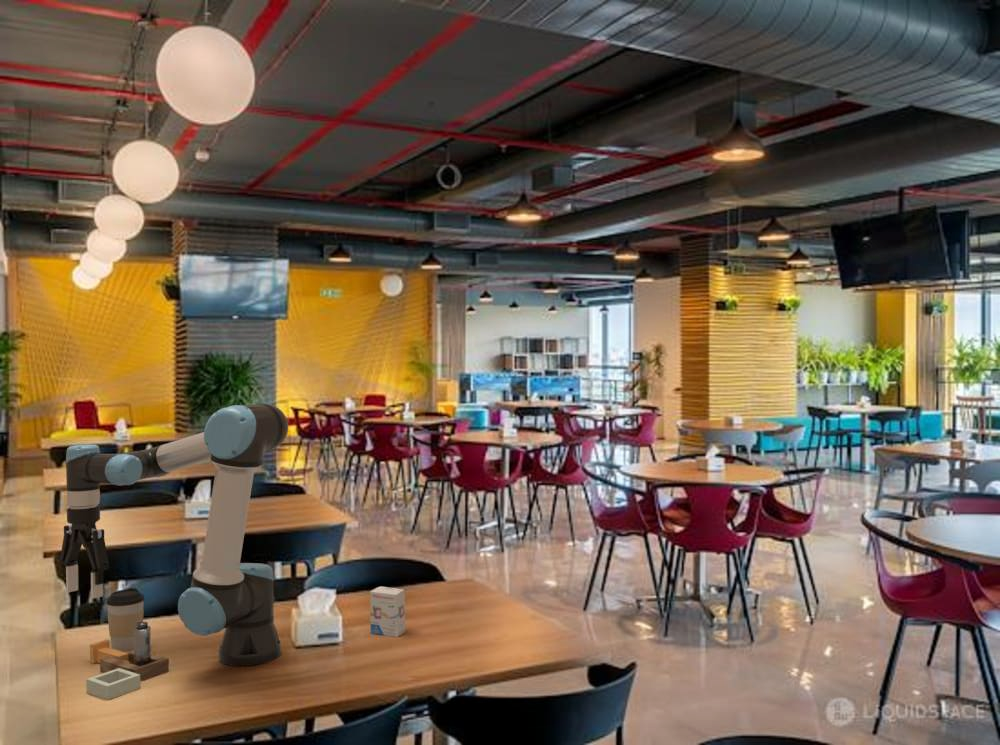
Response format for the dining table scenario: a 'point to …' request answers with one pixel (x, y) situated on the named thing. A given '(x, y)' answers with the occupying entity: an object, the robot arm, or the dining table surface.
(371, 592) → the ink box
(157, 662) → the socket block
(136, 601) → the coffee cup
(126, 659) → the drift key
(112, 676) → the square frame
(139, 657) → the dark grey cylinder
